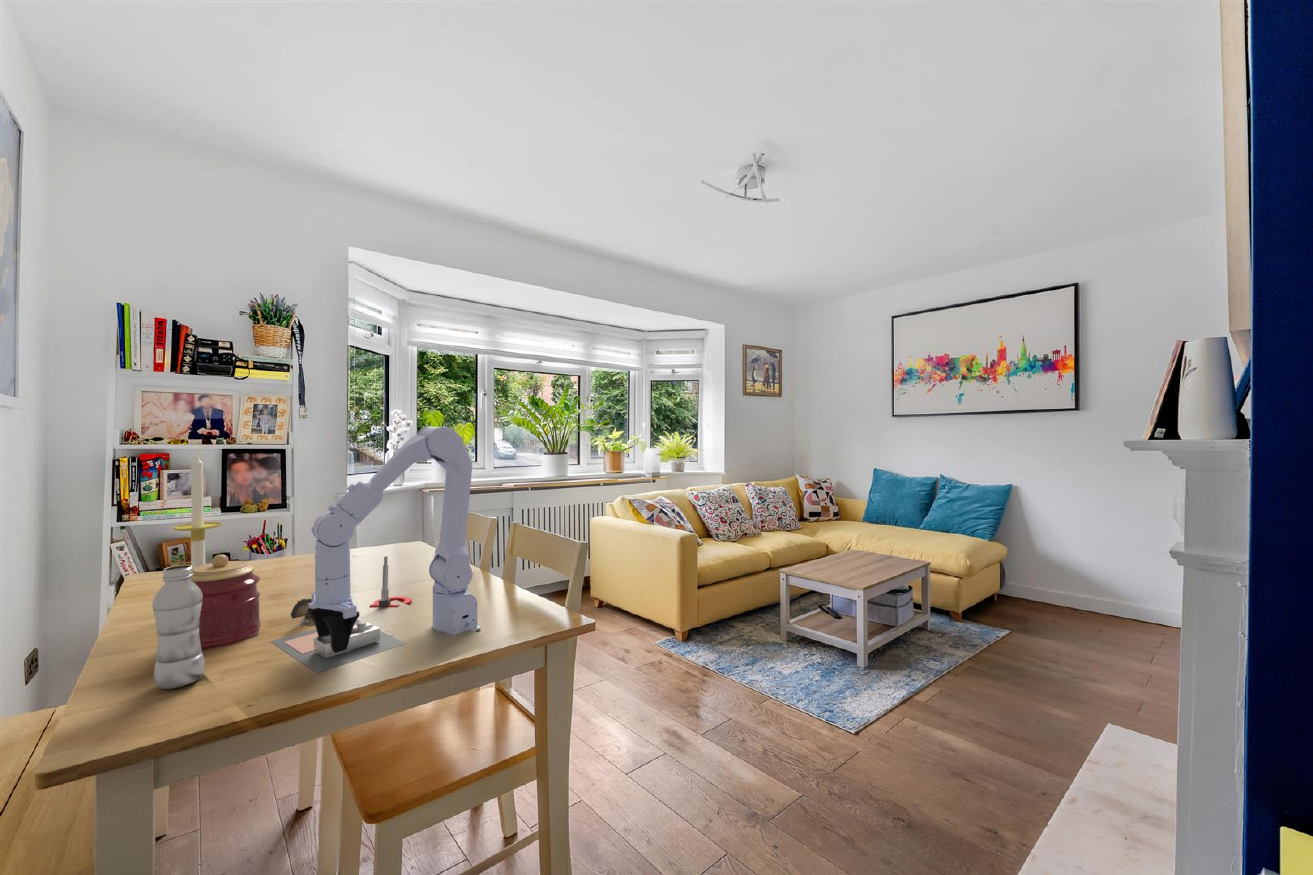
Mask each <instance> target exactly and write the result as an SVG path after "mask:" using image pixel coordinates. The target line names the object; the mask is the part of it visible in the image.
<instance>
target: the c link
mask: <svg viewBox="0 0 1313 875" xmlns="http://www.w3.org/2000/svg"><path fill="white" fill-rule="evenodd" d="M380 631H381V628H380V627H378V626H377V625H375V626H373V624H372V623H369V622H366V631H362V632H359V633H357V626H354V627H353V629H352V632H351V635H350V639H349V643H348V646H347V649H346V650H343V651H340V652H337V653H335V652H334V651H333V648H332V643H331V636H330V633H329V634H326V635H322V636H319V637H315V638H314V652H316V653H318V654H319V655H321V656H323V657H324V658H327V657H330V656H333V655H336V654H340V653H343V652H346V651H349V650H352V649H355V648H358V647H362V646H365V645H368V644H371V643H374V642H377V641H380Z"/></svg>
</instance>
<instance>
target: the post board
mask: <svg viewBox="0 0 1313 875" xmlns="http://www.w3.org/2000/svg"><path fill="white" fill-rule="evenodd" d="M366 623H367V621H360V620H359V619H357V620H356V622H355V624H354V626H357V633H359V632H362V631H366ZM354 626H353V627H354ZM315 637H318V633H317V630H316V628H314V629H310V630H307V631H303V632H300V633H296V634H293V635H290V636H289V635H288V636H285V637H282V638H278V639H275V640H271V641H270V643H272V644H273V645H274V646H276V647H277V648H278V649H280V650H282V651H283V652H284V653H286V654H288V655H289V656H291V657H292V658H294V659H295V660H296V661H298V662H299V663H301V664H302V665H304V666H305V667H307V668H308V669H310V670H311V671H313V672H315V673H316V674H320V673H323V672H326V671H329V670H331V669H335V668H337V667H340V666H343V665H347V664H350V663H353V662H355V661H360V660H361V659H365V658H367V657H371V656H374V655H376V654H380V653H383V652H385V651H388V650H391V649H394V648H398V647H400V646H403V645H406V644H407V643H406V642H404V641H402V640H400V639H398V638H396V637H393V636H392V635H389V634H387V633H386V632H383V631H381V630H380V641H377V642H374V643H371V644H368V645H365V646H362V647H358V648H355V649H352V650H349V651H346V652H343V653H340V654H336V655H333V656H330V657H327V658H324V657H323V656H321V655H319V654H318V653H316V652H314V638H315Z"/></svg>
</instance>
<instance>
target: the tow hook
mask: <svg viewBox="0 0 1313 875" xmlns="http://www.w3.org/2000/svg"><path fill="white" fill-rule="evenodd" d="M388 558H389V556H387V555H385V556H384V557H383V565H382V585H381V586H382V588H381V597H380V598H379V599H377V600H375V601H374V602H373V603H372V604H369V608H379V609H380V608H386V609H387V608H399V607H400V604H392V603H391V602H393V601H397V602H401V603H402V604H405V605H408V606H409V605H411V604H412V602H413V601H412V600H413V599H412V598H411V597H408V596H390V597H389V593H390V592H389V590H390V589H389V564H388V560H389V559H388Z"/></svg>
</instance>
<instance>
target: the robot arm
mask: <svg viewBox="0 0 1313 875" xmlns="http://www.w3.org/2000/svg"><path fill="white" fill-rule="evenodd" d="M432 459H433V460H435V462H437V464H439V465H440V466H441V467H442V468H443V469H444V470H445V481H444V492H443V503H442V512H441V513H442V515H441V524H440V525H441V526H440V537H439V543H438V545H437V546H436V548H435V550H434V556H433V559H432V560H431V562H430V563H429V567H428V572H429V573H428V574H429V576H430V578H431V579H432V580H433V581H434V583H433V586H432V629H433V630H435V631H437V632H443V633H446V634H448V635H451V636H456V635H458V634H461V633H464V632H466V631H472V632H476V631H480V630H481V629H482V627H481V626H480V625H479V624H478V600H477V598H476V597H475V595H474V594H472V593H471V592H470V590H469V585H470V583H471V581H472V579H473V569H472V567H471V564H470V553H469V551H468V549H467V545H466V540H467V532H468V531H467V529H468V518H469V517H468V516H469V507H470V497H471V496H470V495H471V484H472V483H471V482H472V473H473V462H472V459H471V457H470V455H469V453H468V450H467V449H466V447H465V444H464V438H463V437H462V436H461V435H460V434H459V433H457V432H456V431H455V429H453V428H451V427H448V426H431V425H429V426H424V427H422V428H421V429H420V430H418V432H417V433H416V434H413V435H412V436H411V437H409V438H408V440H407V441H406V442H405V443H404V444H403V445H402V446H401V447H400V448H399V449H398V450H397V451H396V452H395V453H394V454H393V455H392V456H391V458H389V459H388V460H387V462H385V463H384V464H383V466H382V467H381V468H380V469H379V470H378V471H376V473H375V474H374V475H373V476H372V477H371V478H370V479H369V480H360V481H358V482H356V483H355V484H353V483H351V484H349V485H348V487H346V489H347V492H346V493H345V494H344V495H343V496H341V498H340V499H339V500H338V501H337V502H336V503H335V504H330V505H329V506H328V507H327V510H328V511H327V512H326V513H325V512H324V513H322V514H320V515H318V517H317V518H315V520H314V523H313V525H312V527H311V532H312V535H313V536H314V537H315V538H316V540H315V554H314V577H315V578H314V580H315V582H314V583H315V584H314V586H315V587H314V589H315V590H314V592H313V591H312V592H311V599H312V603H309V604H308V607H309V608H310V609H308V613H309V615H310V616H311V618H312V620H313V622H314V624H315V626H314V627H315V629H316V630H317V633H318V637H319V636H322V635H326V634H329V633H330V636H331V643H332V648H333V651H334V652H335V653H337V652H340V651H343V650H346V649H347V646H348V643H349V639H350V635H351V632H352V629H353V626H354V624H355V622H356V620H359V617H360V611H358V610H357V605H356V604H354V601H353V596H352V595H351V550H350V539H352V537H353V536H354V534H355V533H354V532H355V527H356V526H359V525H360V524H361V523H362V522H363V520H365V518H367V517H368V516H369V515H370V514H371V512H373V511H374V510H375V508H377V507H378V506H379V505H380V503H382V502H383V496H384V495H383V494H384V492H385V490H386V489H387V488H388V487H390V486H391V485H392V484H393V483H394V482H395V481H396V480H397V479H398V478H400V476H401V475H403V474H404V473H405V472H406V471H408V469H409V468H411V467H412V466H413V465H414V464H416V463H419V462H420V463H421V462H424V461H429V460H432Z"/></svg>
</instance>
